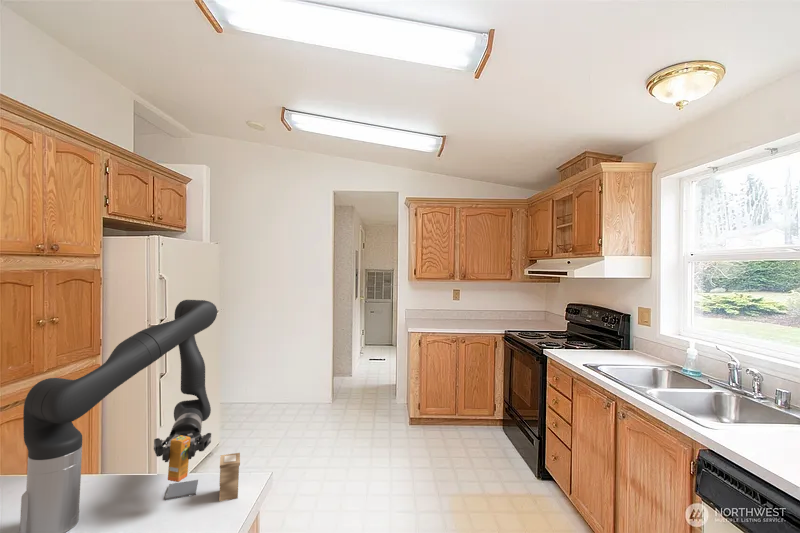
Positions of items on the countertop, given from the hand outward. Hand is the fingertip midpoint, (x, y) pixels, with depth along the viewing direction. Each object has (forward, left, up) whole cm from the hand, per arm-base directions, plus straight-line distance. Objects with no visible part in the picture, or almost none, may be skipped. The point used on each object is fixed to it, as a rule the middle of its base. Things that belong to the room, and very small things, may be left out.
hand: (178, 456), depth 95 cm
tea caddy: (+12, +4, -13) cm, 18 cm away
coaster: (0, +10, -13) cm, 17 cm away
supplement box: (0, +3, -7) cm, 7 cm away
